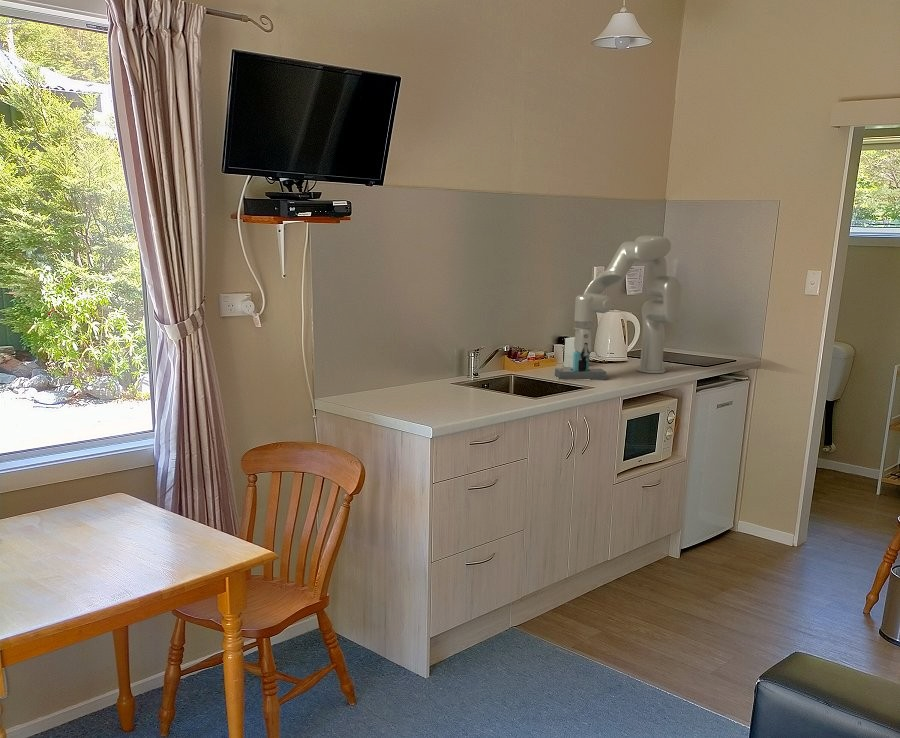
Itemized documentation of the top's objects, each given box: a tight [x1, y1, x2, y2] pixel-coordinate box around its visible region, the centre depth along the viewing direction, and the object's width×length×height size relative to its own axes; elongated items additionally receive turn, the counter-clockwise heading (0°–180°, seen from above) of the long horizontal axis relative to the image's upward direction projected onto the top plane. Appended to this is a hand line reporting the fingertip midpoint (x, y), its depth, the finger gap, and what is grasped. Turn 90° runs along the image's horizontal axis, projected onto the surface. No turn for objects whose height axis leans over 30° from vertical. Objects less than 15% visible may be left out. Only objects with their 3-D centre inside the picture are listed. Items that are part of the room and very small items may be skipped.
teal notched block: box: [573, 352, 591, 371], centre depth 336 cm, size 6×3×9 cm, turn 97°
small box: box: [563, 336, 576, 368], centre depth 362 cm, size 8×6×13 cm
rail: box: [554, 367, 607, 381], centre depth 336 cm, size 20×7×4 cm, turn 97°
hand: (580, 368), depth 336 cm, fingers closed on teal notched block, 3 cm apart
